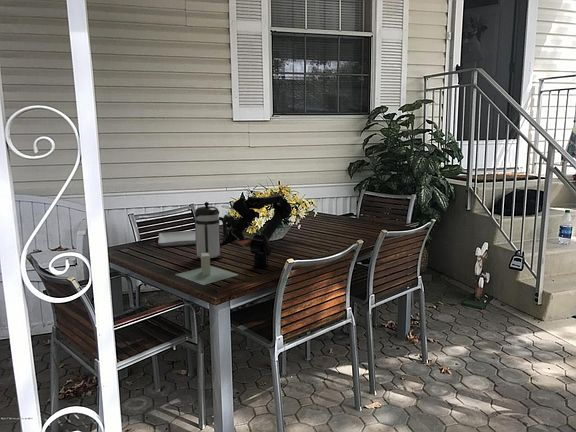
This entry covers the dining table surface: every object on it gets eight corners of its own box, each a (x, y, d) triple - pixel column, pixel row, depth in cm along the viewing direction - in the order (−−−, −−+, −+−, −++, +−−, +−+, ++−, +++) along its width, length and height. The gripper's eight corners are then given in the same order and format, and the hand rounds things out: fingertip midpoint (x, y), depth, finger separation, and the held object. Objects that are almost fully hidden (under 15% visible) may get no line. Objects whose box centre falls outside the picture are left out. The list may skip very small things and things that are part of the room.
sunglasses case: (223, 242, 279) (228, 231, 280) (231, 246, 283) (235, 236, 285) (243, 246, 266) (247, 236, 268) (251, 251, 271) (255, 240, 273)
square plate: (159, 238, 291) (158, 232, 290) (202, 235, 298) (202, 230, 297) (158, 248, 265) (157, 242, 265) (206, 245, 272) (206, 239, 271)
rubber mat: (209, 266, 227) (209, 265, 227) (239, 275, 212) (238, 274, 212) (174, 275, 213) (174, 274, 213) (203, 286, 198) (203, 285, 198)
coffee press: (222, 262, 234) (220, 204, 229) (191, 262, 235) (188, 204, 229) (227, 253, 251) (226, 199, 246) (198, 253, 252) (196, 199, 246)
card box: (208, 271, 218) (208, 252, 216) (210, 274, 212) (209, 255, 211) (201, 271, 217) (200, 253, 215) (202, 275, 211) (202, 256, 210)
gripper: (229, 205, 222) (207, 229, 221) (236, 211, 204) (212, 237, 203) (245, 220, 225) (224, 244, 224) (254, 228, 208) (230, 253, 207)
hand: (222, 244), depth 214 cm, fingers closed
